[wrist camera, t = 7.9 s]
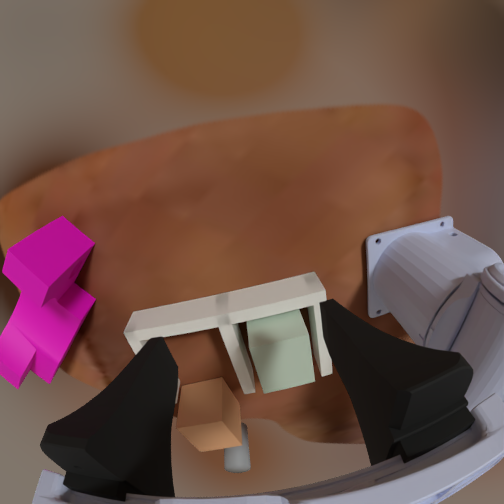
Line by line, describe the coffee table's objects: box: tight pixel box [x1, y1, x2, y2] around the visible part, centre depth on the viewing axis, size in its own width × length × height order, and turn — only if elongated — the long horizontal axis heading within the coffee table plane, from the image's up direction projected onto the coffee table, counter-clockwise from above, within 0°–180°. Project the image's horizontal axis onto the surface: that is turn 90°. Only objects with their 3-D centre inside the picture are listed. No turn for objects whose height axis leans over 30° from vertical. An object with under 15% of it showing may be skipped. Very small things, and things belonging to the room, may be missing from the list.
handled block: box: [176, 377, 250, 473], centre depth 26 cm, size 4×11×6 cm, turn 19°
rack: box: [123, 272, 332, 404], centre depth 23 cm, size 16×9×3 cm, turn 103°
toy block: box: [0, 216, 96, 389], centre depth 19 cm, size 15×6×8 cm, turn 139°
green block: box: [247, 309, 315, 393], centre depth 22 cm, size 4×5×6 cm
